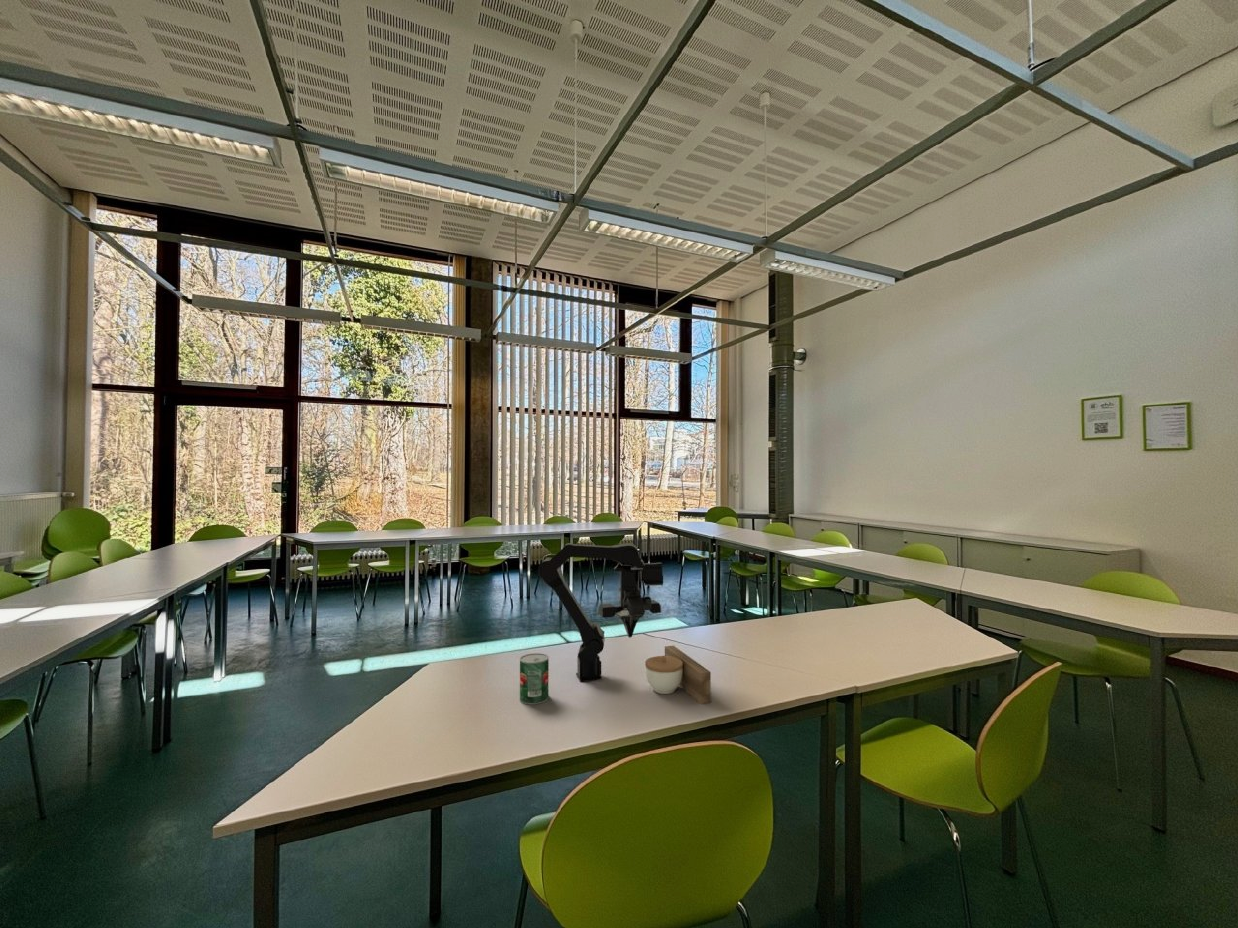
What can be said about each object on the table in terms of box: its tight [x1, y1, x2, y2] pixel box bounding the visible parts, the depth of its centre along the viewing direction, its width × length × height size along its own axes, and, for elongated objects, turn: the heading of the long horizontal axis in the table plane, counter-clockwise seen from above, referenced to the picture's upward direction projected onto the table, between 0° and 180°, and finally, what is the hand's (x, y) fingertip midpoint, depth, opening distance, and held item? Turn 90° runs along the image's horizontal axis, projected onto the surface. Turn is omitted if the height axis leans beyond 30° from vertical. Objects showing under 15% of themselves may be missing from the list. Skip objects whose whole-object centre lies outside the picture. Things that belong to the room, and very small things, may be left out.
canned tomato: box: [519, 652, 550, 705], centre depth 138 cm, size 8×8×11 cm
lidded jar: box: [644, 655, 683, 695], centre depth 143 cm, size 11×11×9 cm
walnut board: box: [664, 645, 712, 705], centre depth 145 cm, size 3×24×8 cm, turn 18°
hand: (629, 637), depth 153 cm, fingers closed
